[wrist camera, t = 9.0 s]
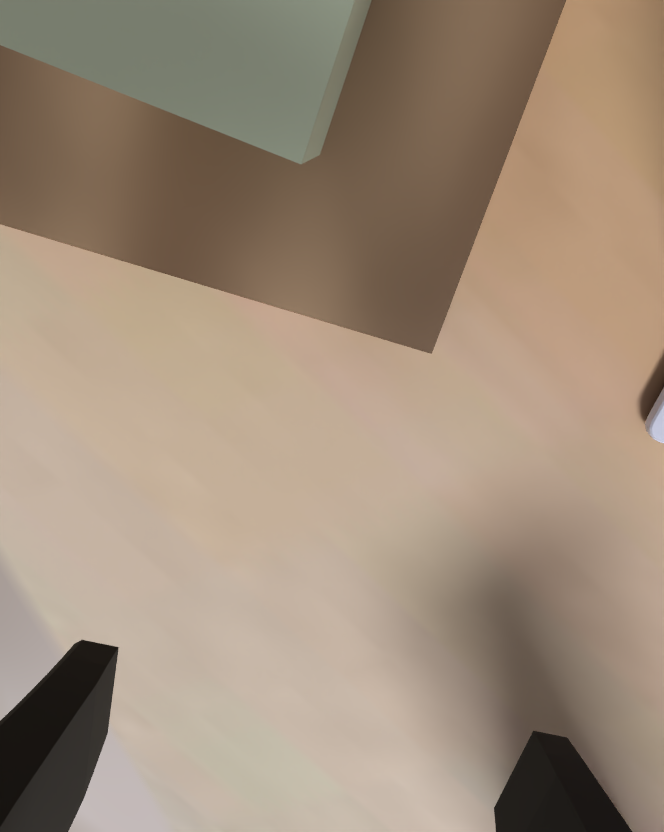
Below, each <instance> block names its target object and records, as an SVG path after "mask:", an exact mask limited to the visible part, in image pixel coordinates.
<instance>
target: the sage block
mask: <svg viewBox="0 0 664 832" xmlns="http://www.w3.org/2000/svg"><path fill="white" fill-rule="evenodd" d="M371 1H372V0H0V45H1V46H4V47H6V48H9V49H11V50H14V51H16V52H19V53H21V54H24V55H27V56H29V57H32V58H34V59H37V60H39V61H42V62H44V63H47V64H49V65H52V66H54V67H57V68H59V69H62V70H64V71H67V72H69V73H72V74H74V75H77V76H79V77H82V78H84V79H87V80H90V81H92V82H95V83H97V84H100V85H102V86H105V87H107V88H110V89H112V90H115V91H117V92H120V93H122V94H125V95H127V96H130V97H132V98H135V99H137V100H140V101H142V102H145V103H147V104H150V105H152V106H155V107H158V108H160V109H163V110H165V111H168V112H170V113H173V114H175V115H178V116H180V117H183V118H185V119H188V120H190V121H193V122H195V123H198V124H200V125H203V126H205V127H208V128H210V129H213V130H215V131H218V132H220V133H223V134H226V135H228V136H231V137H233V138H236V139H238V140H241V141H243V142H246V143H248V144H251V145H253V146H256V147H258V148H261V149H263V150H266V151H268V152H271V153H273V154H276V155H278V156H281V157H283V158H286V159H288V160H291V161H294V162H296V163H299V164H303V163H305V162H307V161H309V160H311V159H313V158H315V157H317V156H319V155H320V153H321V150H322V147H323V144H324V141H325V138H326V135H327V132H328V129H329V126H330V123H331V120H332V117H333V114H334V111H335V108H336V105H337V102H338V99H339V96H340V93H341V90H342V87H343V84H344V81H345V78H346V75H347V72H348V69H349V66H350V63H351V60H352V57H353V54H354V51H355V48H356V45H357V43H358V40H359V37H360V34H361V31H362V28H363V25H364V22H365V19H366V16H367V13H368V10H369V7H370V4H371Z"/></svg>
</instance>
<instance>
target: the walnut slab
mask: <svg viewBox="0 0 664 832" xmlns="http://www.w3.org/2000/svg"><path fill="white" fill-rule="evenodd" d="M565 2H566V0H372V1H371V4H370V7H369V10H368V13H367V16H366V19H365V22H364V25H363V28H362V31H361V34H360V37H359V40H358V43H357V45H356V48H355V51H354V54H353V57H352V60H351V63H350V66H349V69H348V72H347V75H346V78H345V81H344V84H343V87H342V90H341V93H340V96H339V99H338V102H337V105H336V108H335V111H334V114H333V117H332V120H331V123H330V126H329V129H328V132H327V135H326V138H325V141H324V144H323V147H322V150H321V153H320V155H319V156H317V157H315V158H313V159H311V160H309V161H307V162H305V163H303V164H299V163H296V162H294V161H291V160H288V159H286V158H283V157H281V156H278V155H276V154H273V153H271V152H268V151H266V150H263V149H261V148H258V147H256V146H253V145H251V144H248V143H246V142H243V141H241V140H238V139H236V138H233V137H231V136H228V135H226V134H223V133H220V132H218V131H215V130H213V129H210V128H208V127H205V126H203V125H200V124H198V123H195V122H193V121H190V120H188V119H185V118H183V117H180V116H178V115H175V114H173V113H170V112H168V111H165V110H163V109H160V108H158V107H155V106H152V105H150V104H147V103H145V102H142V101H140V100H137V99H135V98H132V97H130V96H127V95H125V94H122V93H120V92H117V91H115V90H112V89H110V88H107V87H105V86H102V85H100V84H97V83H95V82H92V81H90V80H87V79H84V78H82V77H79V76H77V75H74V74H72V73H69V72H67V71H64V70H62V69H59V68H57V67H54V66H52V65H49V64H47V63H44V62H42V61H39V60H37V59H34V58H32V57H29V56H27V55H24V54H21V53H19V52H16V51H14V50H11V49H9V48H6V47H4V46H1V45H0V224H2V225H5V226H8V227H12V228H15V229H18V230H22V231H25V232H28V233H31V234H35V235H38V236H41V237H45V238H48V239H51V240H55V241H58V242H61V243H65V244H68V245H71V246H75V247H78V248H81V249H85V250H88V251H91V252H95V253H98V254H101V255H105V256H108V257H111V258H115V259H118V260H121V261H125V262H128V263H131V264H135V265H138V266H141V267H145V268H148V269H151V270H155V271H158V272H161V273H165V274H168V275H171V276H175V277H178V278H181V279H185V280H188V281H191V282H195V283H198V284H201V285H205V286H208V287H211V288H214V289H218V290H221V291H224V292H228V293H231V294H234V295H238V296H241V297H244V298H248V299H251V300H254V301H258V302H261V303H264V304H268V305H271V306H274V307H278V308H281V309H284V310H288V311H291V312H294V313H298V314H301V315H304V316H308V317H311V318H314V319H318V320H321V321H324V322H328V323H331V324H334V325H338V326H341V327H344V328H348V329H351V330H354V331H358V332H361V333H364V334H368V335H371V336H374V337H378V338H381V339H384V340H388V341H391V342H394V343H397V344H401V345H404V346H407V347H411V348H414V349H417V350H421V351H424V352H427V353H431V354H432V351H433V349H434V346H435V343H436V341H437V338H438V336H439V333H440V330H441V328H442V325H443V322H444V320H445V317H446V315H447V312H448V309H449V307H450V304H451V301H452V299H453V296H454V294H455V291H456V288H457V286H458V283H459V280H460V278H461V275H462V272H463V270H464V267H465V265H466V262H467V259H468V257H469V254H470V251H471V249H472V246H473V244H474V241H475V238H476V236H477V233H478V230H479V228H480V225H481V223H482V220H483V217H484V215H485V212H486V209H487V207H488V204H489V202H490V199H491V196H492V194H493V191H494V188H495V186H496V183H497V181H498V178H499V175H500V173H501V170H502V167H503V165H504V162H505V160H506V157H507V154H508V152H509V149H510V146H511V144H512V141H513V139H514V136H515V133H516V131H517V128H518V125H519V123H520V120H521V117H522V115H523V112H524V110H525V107H526V104H527V102H528V99H529V96H530V94H531V91H532V89H533V86H534V83H535V81H536V78H537V75H538V73H539V70H540V68H541V65H542V62H543V60H544V57H545V54H546V52H547V49H548V47H549V44H550V41H551V39H552V36H553V33H554V31H555V28H556V26H557V23H558V20H559V18H560V15H561V12H562V10H563V7H564V5H565Z"/></svg>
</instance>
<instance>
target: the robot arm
mask: <svg viewBox="0 0 664 832" xmlns="http://www.w3.org/2000/svg"><path fill="white" fill-rule="evenodd" d="M645 428H646V431H647V432H648V434H649V435H650V436H651V437H652V438H653V439H655V440H656V441H658V442H661V443H664V388H663V390H662V391H661V393H660V395H659V397H658V399H657V400H656V402H655V404H654V406H653V408H652V409H651V411H650V413H649V415H648V417H647V419H646V422H645ZM117 655H118V647H115V646H110V645H105V644H100V643H95V642H90V641H85V640H81V641H79V642H77V643H75V644H74V645H73V646H72V647H71V649H70V650H69V651H68V652H67V653H66V654H65V655H64V656H63V658H62V659H61V660H60V661H59V662H58V663H57V664H56V665H55V666H54V667H53V669H52V670H51V671H50V672H49V673H48V674H47V675H46V676H45V677H44V678H43V679H42V680H41V681H40V682H39V683H38V684H37V685H36V686H35V687H34V688H33V689H32V690H31V691H30V692H29V693H28V694H27V695H26V697H24V698H23V699H22V701H20V702H19V703H18V704H17V705H16V706H15V707H14V708H13V709H12V710H11V711H10V712H9V713H8V714H7V715H6V716H5V717H4V718H3V719H2V720H1V721H0V832H68V830H69V828H70V827H71V824H72V822H73V820H74V818H75V816H76V814H77V812H78V810H79V807H80V805H81V803H82V801H83V799H84V796H85V794H86V791H87V788H88V785H89V783H90V780H91V777H92V775H93V772H94V769H95V766H96V764H97V761H98V758H99V755H100V752H101V750H102V747H103V744H104V741H105V739H106V736H107V733H108V725H109V717H110V709H111V702H112V694H113V686H114V678H115V671H116V663H117ZM494 812H495V823H496V832H632V831H631V829H630V828H629V826H628V825H627V824H626V822H625V821H624V819H623V818H622V816H621V815H620V813H619V812H618V811H617V809H616V808H615V806H614V805H613V803H612V802H611V800H610V799H609V797H608V796H607V795H606V793H605V792H604V790H603V789H602V787H601V786H600V784H599V783H598V781H597V780H596V778H595V777H594V775H593V774H592V773H591V771H590V770H589V768H588V767H587V765H586V764H585V762H584V761H583V759H582V758H581V757H580V755H579V754H578V752H577V751H576V749H575V748H574V747H573V745H572V744H571V742H570V741H569V740H568V738H566V737H561V736H556V735H551V734H546V733H541V732H537V731H533V733H532V735H531V737H530V739H529V741H528V743H527V745H526V747H525V748H524V750H523V752H522V754H521V756H520V758H519V760H518V762H517V764H516V766H515V768H514V770H513V772H512V774H511V776H510V778H509V780H508V782H507V784H506V786H505V788H504V790H503V792H502V794H501V796H500V798H499V800H498V802H497V804H496V805H495V807H494Z"/></svg>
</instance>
